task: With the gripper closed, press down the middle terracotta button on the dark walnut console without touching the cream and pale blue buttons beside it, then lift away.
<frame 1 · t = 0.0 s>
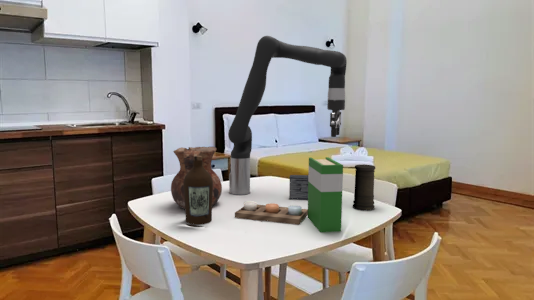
hand: (335, 136, 184), 29 cm above the table, tool pointing down, fingers open, 8 cm apart
console board: (272, 218, 161), on the table
cream button: (250, 206, 163), point 4 cm above the table, slide at 0.0 cm
terracotta button: (272, 208, 160), point 4 cm above the table, slide at 0.0 cm
olive oil: (198, 223, 154), on the table
container: (363, 208, 177), on the table
jug: (196, 206, 178), on the table
pale blue button: (294, 210, 158), point 4 cm above the table, slide at 0.0 cm
hardback book: (323, 227, 152), on the table
small box: (300, 198, 193), on the table
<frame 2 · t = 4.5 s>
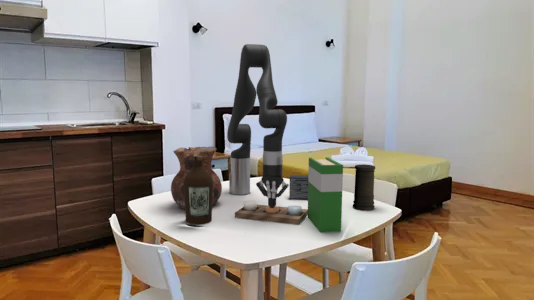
hand: (272, 207, 160), 4 cm above the table, tool pointing down, fingers closed
terracotta button: (272, 210, 161), point 3 cm above the table, slide at 0.9 cm, touching gripper
everything else where it was.
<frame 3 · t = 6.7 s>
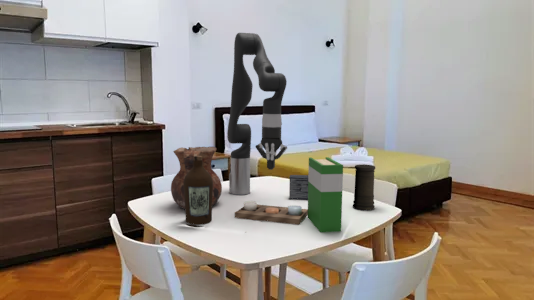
hand: (270, 169, 165), 18 cm above the table, tool pointing down, fingers closed
terracotta button: (272, 212, 161), point 2 cm above the table, slide at 1.6 cm
everything else where it was.
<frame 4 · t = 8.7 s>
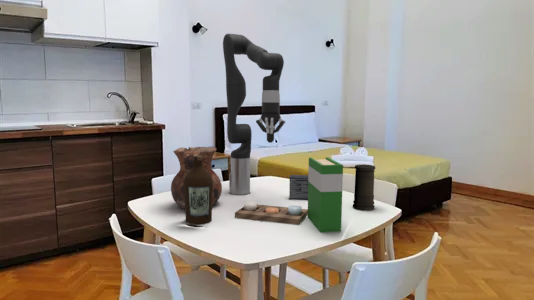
hand: (270, 142, 179), 27 cm above the table, tool pointing down, fingers closed
nothing on the table moved.
at the end: terracotta button slide at 1.6 cm; cream button slide at 0.0 cm; pale blue button slide at 0.0 cm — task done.
